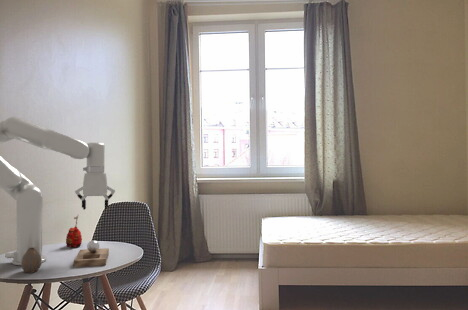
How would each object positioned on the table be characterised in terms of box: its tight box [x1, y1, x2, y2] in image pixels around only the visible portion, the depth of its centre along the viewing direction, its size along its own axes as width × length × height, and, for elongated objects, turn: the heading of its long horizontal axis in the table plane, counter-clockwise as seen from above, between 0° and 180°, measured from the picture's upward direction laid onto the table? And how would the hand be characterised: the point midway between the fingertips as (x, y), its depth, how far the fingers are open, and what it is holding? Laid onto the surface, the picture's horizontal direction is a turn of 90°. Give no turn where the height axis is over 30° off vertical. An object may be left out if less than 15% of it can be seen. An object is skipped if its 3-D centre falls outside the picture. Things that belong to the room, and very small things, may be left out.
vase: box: [20, 248, 42, 273], centre depth 154 cm, size 7×7×9 cm
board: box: [73, 247, 110, 268], centre depth 170 cm, size 12×18×2 cm, turn 14°
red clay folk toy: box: [65, 215, 83, 249], centre depth 193 cm, size 8×7×15 cm
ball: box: [86, 239, 100, 252], centre depth 173 cm, size 5×5×5 cm
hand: (95, 208), depth 180 cm, fingers open, 8 cm apart
